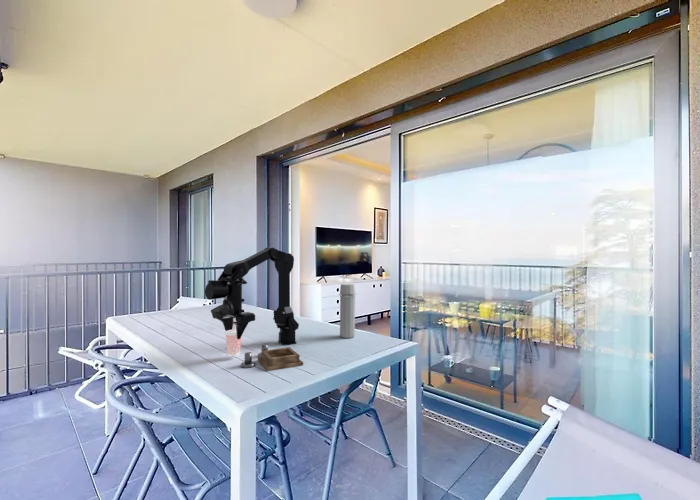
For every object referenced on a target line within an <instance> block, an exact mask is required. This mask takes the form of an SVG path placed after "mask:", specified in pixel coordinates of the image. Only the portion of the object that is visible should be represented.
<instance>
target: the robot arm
mask: <svg viewBox="0 0 700 500" xmlns="http://www.w3.org/2000/svg"><path fill="white" fill-rule="evenodd" d="M267 260H270V261H272V262H274V267H275V270H276V271H277V275H278V277H277V279H278V280H277V282H278V283H277V284H278V286H277V287H278V289H277V290H278V291H277V293H278V304H277V305H278V306H277V308H276V309H274V310H273V318H272V319H273V321H274V323H275V324H276V328H277V329H279V332H278V342H279V343H280V344H281V345H283V346H284V345H292V344H297V341H296V331H297V330H298V329H299V326H300V324H299V322H298V321H297V320H296V319H295V316H294V311H293V309H292V307H291V272H292V270H293V268H294V264H295V263H294V262H295V257H294V256H293V254H292V253H289V252H285V251H281V250H279V249H277V248H275V247H265V248H264V249H262V250H261V251H258V252H256V253H255V254H253V255H251V256H248V257H246V258H245V259H242V260H238V261H233V262H229V263H227V264H225V265H224V268H223V271H222V272H221V274H220V275H219V277H217V278H218V279H217V280H215V279H214V280H212V279H211V280H208V281H207V282H208V283H207V284H206V286H205V288H204V295H205V298H206V299H207V300H216V299H217V300H218V299H223V300H222V304H220V305H218V306H216V307H213V308H211V310H210V313H211V315H212V318H213V319H216V320H219V321H220V322H222V324H223V327H224V330H225V332H226V331H228V330H233V323H234V326H235V329H236V332H237V339H240V338H241V339H242V336H243V333H244V332H245V330H246V328H247V327H248V325H249V323H251V322H255V321H256V314H255V313H254V312H250V311H246V312H245V309H243V303H244V302H245V298H243V285H247V284H248V281H247V280H245V279H244V277H245V276H246V275H247V274H248V273H249V272H250V270H252V269H253V268H255V267H257V266H258V265H261V264H262V263H264V262H266V261H267ZM233 318H235V320H234V322H233Z"/></svg>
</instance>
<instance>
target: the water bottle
mask: <svg viewBox="0 0 700 500" xmlns="http://www.w3.org/2000/svg"><path fill="white" fill-rule="evenodd" d="M338 295H339V296H340V298H339V299H340V300H339V303H340V304H339V305H340V307H339V308H340V309H339V313H340V314H339V320H340V321H339V336H340V338H343V339H352V338H354V337H355V335H356V333H355V331H356V295H357V294H356V288H355V284H354V283H340V288H339V294H338Z"/></svg>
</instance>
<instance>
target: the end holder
mask: <svg viewBox="0 0 700 500" xmlns="http://www.w3.org/2000/svg"><path fill="white" fill-rule="evenodd" d="M260 353H261V357H258V356H257V362H259V364H260V365H261V366H262V367H263V368H264V370H265V371H266V372H271V371H276V370H282V369H288V368H294V367H295V368H296V367H301V366H303V365H304V361H302V360H301V359H300V354H299V353H298V352H297V351H295V350H294V349H293V348H291V347H290V346H287V347H281V348H273V349H268V350H265V351H260Z"/></svg>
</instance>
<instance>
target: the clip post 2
mask: <svg viewBox="0 0 700 500" xmlns="http://www.w3.org/2000/svg"><path fill="white" fill-rule="evenodd" d="M260 345H261V351H265V350H269V345H268V343H262V344H260ZM261 351H260V352H259V353H257V358H258V357H261Z"/></svg>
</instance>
